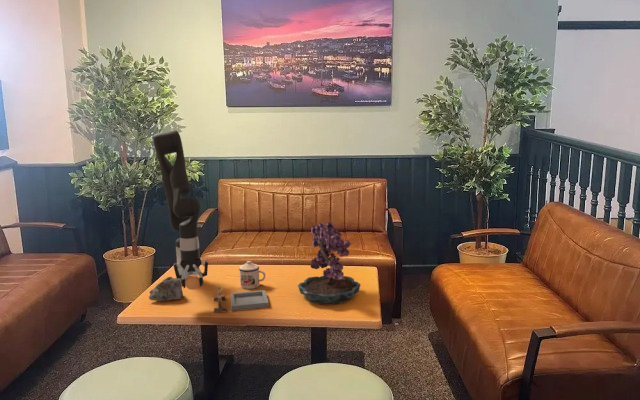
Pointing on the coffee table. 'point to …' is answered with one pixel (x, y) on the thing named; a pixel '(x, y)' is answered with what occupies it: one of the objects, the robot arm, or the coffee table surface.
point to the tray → (249, 300)
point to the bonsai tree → (329, 269)
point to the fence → (220, 302)
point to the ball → (192, 282)
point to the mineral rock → (167, 290)
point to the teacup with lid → (250, 275)
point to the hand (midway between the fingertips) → (192, 286)
